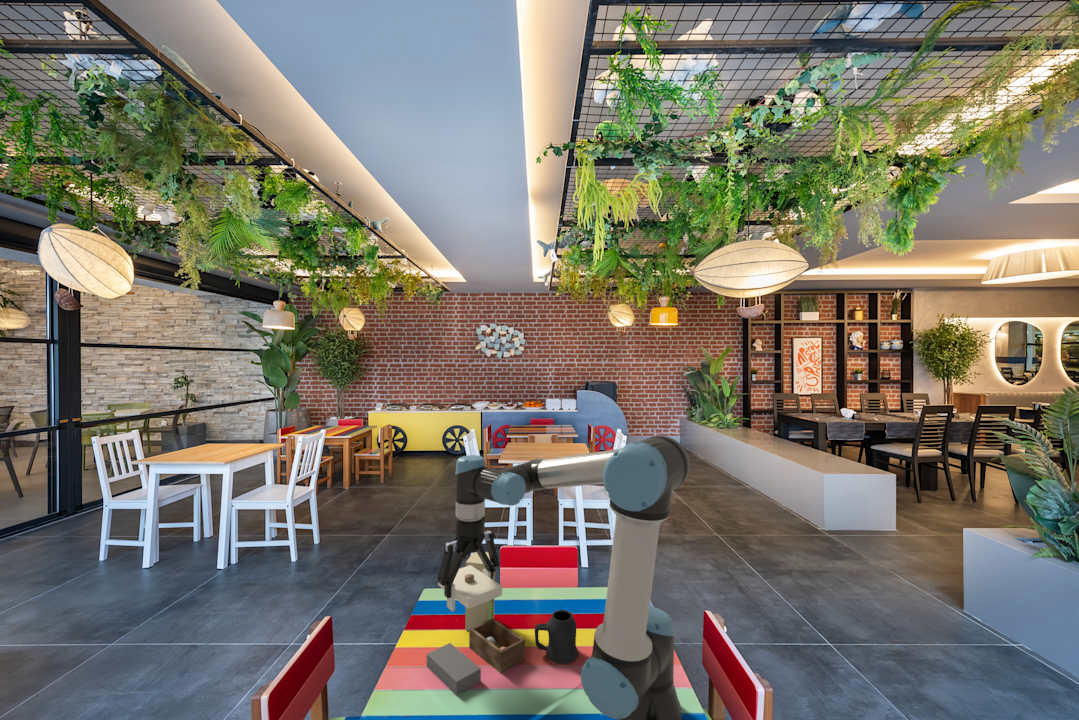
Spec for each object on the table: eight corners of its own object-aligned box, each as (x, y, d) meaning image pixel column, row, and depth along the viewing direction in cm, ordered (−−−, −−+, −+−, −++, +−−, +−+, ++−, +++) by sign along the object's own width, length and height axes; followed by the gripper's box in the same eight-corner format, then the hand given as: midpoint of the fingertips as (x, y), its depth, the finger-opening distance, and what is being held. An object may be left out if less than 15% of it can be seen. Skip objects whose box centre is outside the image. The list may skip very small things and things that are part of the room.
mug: (576, 645, 133) (577, 605, 132) (581, 667, 124) (581, 624, 123) (534, 646, 132) (534, 606, 132) (535, 668, 123) (535, 625, 123)
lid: (502, 595, 120) (502, 581, 120) (468, 608, 114) (468, 594, 114) (470, 573, 132) (470, 560, 132) (437, 584, 125) (438, 571, 125)
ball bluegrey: (497, 648, 130) (497, 637, 130) (488, 653, 128) (488, 642, 128) (490, 643, 132) (490, 632, 132) (482, 648, 130) (482, 637, 130)
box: (524, 662, 125) (524, 639, 125) (500, 676, 120) (500, 652, 120) (492, 638, 136) (492, 618, 135) (469, 650, 130) (469, 628, 130)
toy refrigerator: (488, 636, 137) (489, 564, 136) (464, 633, 138) (464, 561, 138) (496, 621, 145) (497, 552, 144) (473, 618, 146) (474, 550, 146)
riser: (480, 684, 117) (480, 668, 117) (456, 698, 112) (456, 681, 112) (450, 657, 127) (450, 642, 127) (426, 669, 122) (426, 653, 122)
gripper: (497, 504, 133) (496, 582, 133) (423, 522, 118) (422, 610, 118) (513, 511, 127) (512, 593, 127) (437, 531, 112) (436, 624, 113)
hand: (469, 601), depth 123 cm, fingers closed on lid, 10 cm apart
